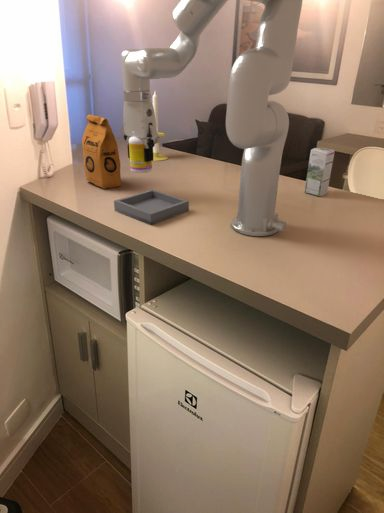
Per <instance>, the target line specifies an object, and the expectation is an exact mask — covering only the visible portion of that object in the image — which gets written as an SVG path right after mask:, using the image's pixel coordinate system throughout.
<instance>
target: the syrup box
mask: <svg viewBox="0 0 384 513" xmlns="http://www.w3.org/2000/svg"><path fill="white" fill-rule="evenodd" d="M334 157H335V149H329V148H325V147H319V146H318V147H317V146H316V147H314V148H312V149H310V153H309V160H308V167H307V174H306V179H305V187H304V193H305V194H308V195H311V196H316V197H322V196H324V195H326V194H328V191H329V184H330V179H331V174H332V169H333V168H332V167H333V164H334V163H333V162H334Z"/></svg>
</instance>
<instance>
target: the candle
mask: <svg viewBox="0 0 384 513" xmlns="http://www.w3.org/2000/svg"><path fill="white" fill-rule="evenodd" d="M158 96H159V95H158V94H157V92H156V90H154V93H153V95H152V104H153V108H154V113H155V120H156V132H157V133H158V134H159V138H158V140H157V142H156V144H155V146H154V147H153V161H152V162H163V161H166V160H168V159H169V157H168V156H167V155H164V154H160V138H163V137H166V136H167V133H164V132H159V97H158Z"/></svg>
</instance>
